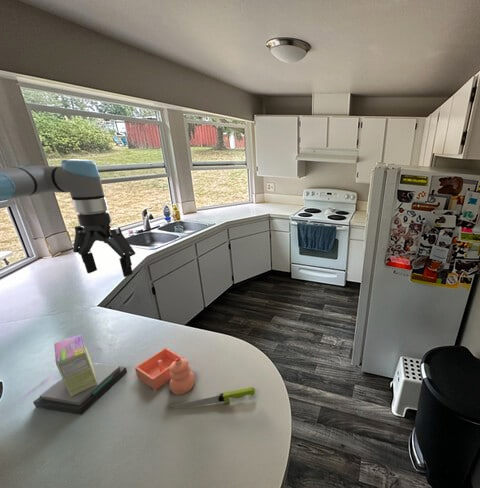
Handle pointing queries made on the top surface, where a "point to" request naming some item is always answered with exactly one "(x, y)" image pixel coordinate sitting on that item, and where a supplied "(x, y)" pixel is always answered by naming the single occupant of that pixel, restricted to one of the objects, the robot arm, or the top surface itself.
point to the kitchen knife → (217, 398)
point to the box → (75, 364)
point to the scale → (80, 402)
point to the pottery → (166, 371)
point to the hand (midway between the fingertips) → (110, 273)
